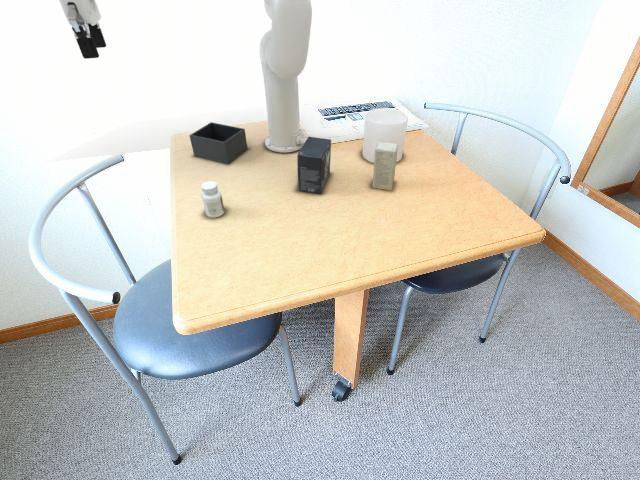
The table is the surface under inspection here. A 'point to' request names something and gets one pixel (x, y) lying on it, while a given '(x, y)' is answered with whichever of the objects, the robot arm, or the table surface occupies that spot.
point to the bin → (219, 142)
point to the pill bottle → (212, 199)
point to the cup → (384, 130)
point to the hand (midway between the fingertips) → (95, 52)
